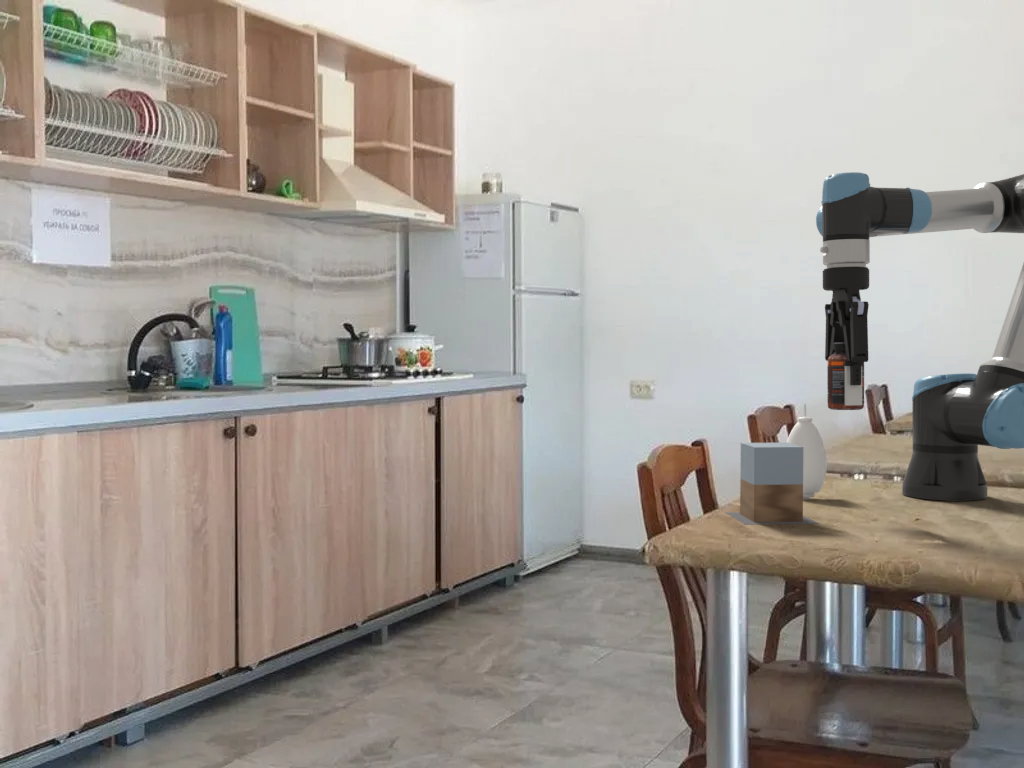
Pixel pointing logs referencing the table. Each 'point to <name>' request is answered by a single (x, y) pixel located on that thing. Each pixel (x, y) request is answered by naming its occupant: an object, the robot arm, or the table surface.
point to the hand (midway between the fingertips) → (846, 403)
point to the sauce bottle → (810, 454)
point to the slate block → (771, 463)
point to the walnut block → (771, 502)
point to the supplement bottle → (839, 380)
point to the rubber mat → (749, 522)
